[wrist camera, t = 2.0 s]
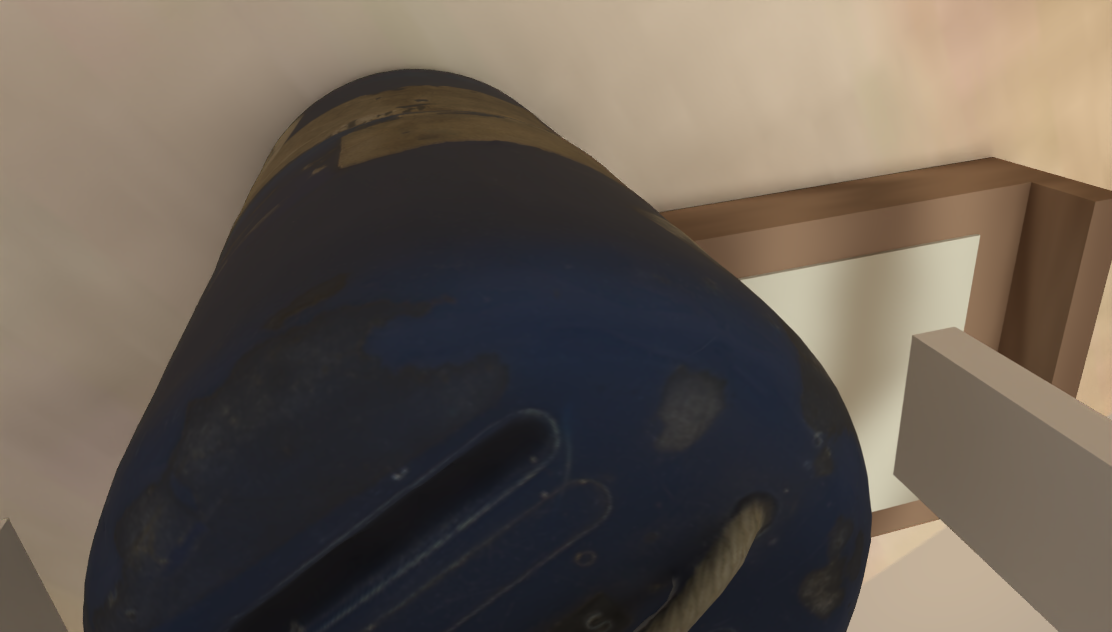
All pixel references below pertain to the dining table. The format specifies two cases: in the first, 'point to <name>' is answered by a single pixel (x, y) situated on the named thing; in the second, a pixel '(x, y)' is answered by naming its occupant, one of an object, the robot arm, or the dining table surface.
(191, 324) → the canister
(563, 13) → the dining table surface
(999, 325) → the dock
